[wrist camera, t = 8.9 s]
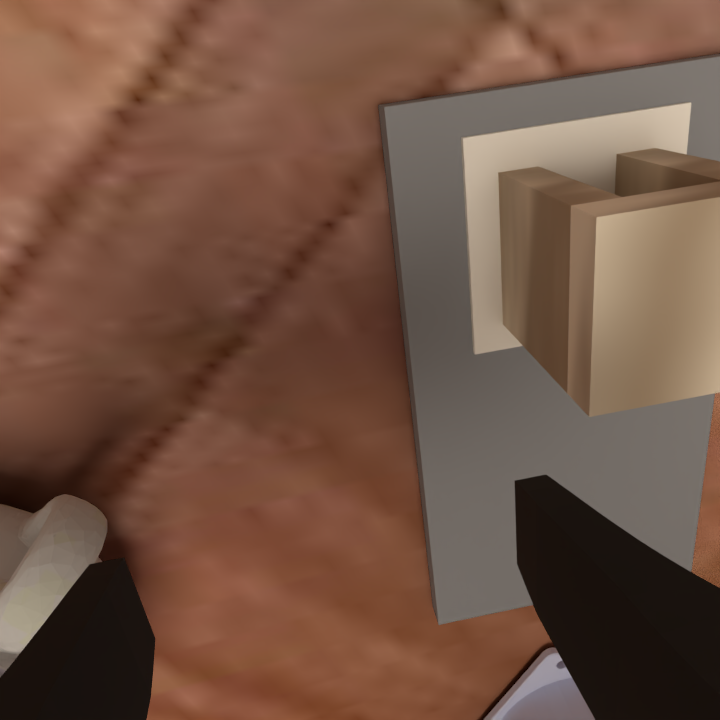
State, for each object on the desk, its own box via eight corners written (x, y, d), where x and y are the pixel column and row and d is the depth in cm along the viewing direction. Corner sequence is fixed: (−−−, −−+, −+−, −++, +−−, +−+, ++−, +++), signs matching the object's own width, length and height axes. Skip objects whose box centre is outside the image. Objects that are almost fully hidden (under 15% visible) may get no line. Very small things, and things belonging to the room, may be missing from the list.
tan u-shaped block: (655, 148, 19) (814, 181, 13) (643, 299, 21) (777, 381, 15) (498, 172, 18) (596, 217, 13) (503, 324, 20) (589, 417, 15)
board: (677, 555, 28) (694, 574, 27) (432, 606, 27) (439, 628, 26) (736, 51, 19) (765, 50, 18) (378, 105, 18) (385, 107, 17)
